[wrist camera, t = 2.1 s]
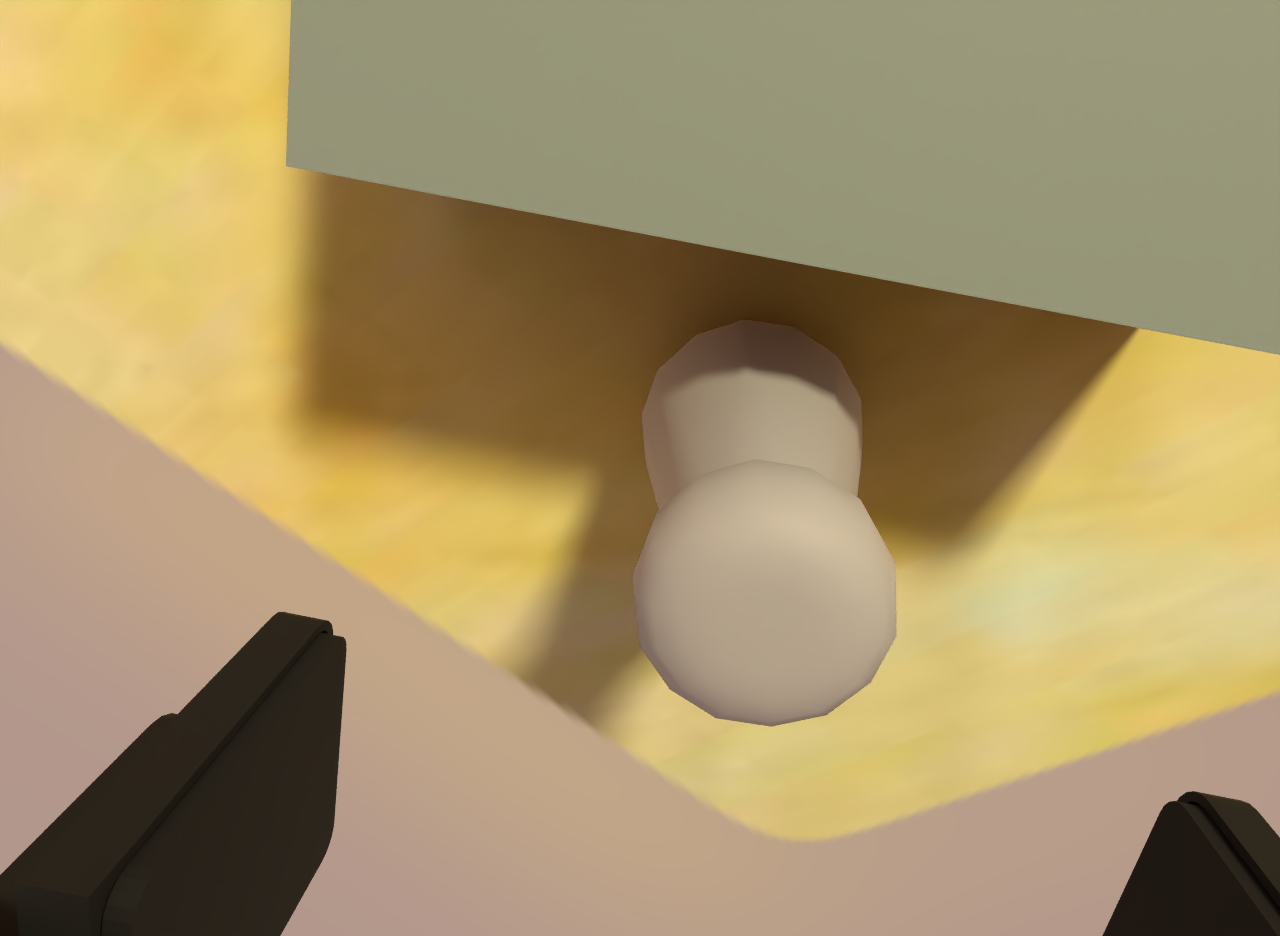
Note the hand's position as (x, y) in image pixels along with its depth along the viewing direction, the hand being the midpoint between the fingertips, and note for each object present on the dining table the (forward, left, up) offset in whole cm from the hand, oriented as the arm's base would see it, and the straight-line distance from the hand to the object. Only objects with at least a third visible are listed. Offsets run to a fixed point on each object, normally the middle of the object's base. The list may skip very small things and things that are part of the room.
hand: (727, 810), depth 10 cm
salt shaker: (0, 0, -17) cm, 17 cm away
